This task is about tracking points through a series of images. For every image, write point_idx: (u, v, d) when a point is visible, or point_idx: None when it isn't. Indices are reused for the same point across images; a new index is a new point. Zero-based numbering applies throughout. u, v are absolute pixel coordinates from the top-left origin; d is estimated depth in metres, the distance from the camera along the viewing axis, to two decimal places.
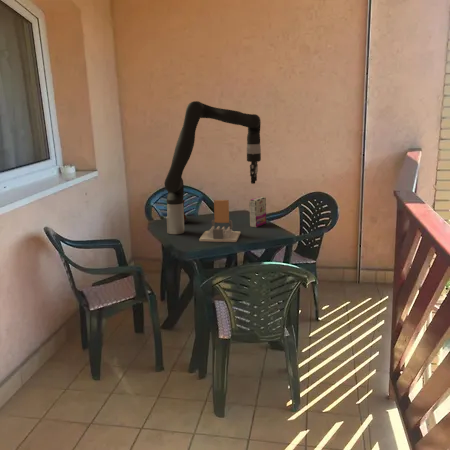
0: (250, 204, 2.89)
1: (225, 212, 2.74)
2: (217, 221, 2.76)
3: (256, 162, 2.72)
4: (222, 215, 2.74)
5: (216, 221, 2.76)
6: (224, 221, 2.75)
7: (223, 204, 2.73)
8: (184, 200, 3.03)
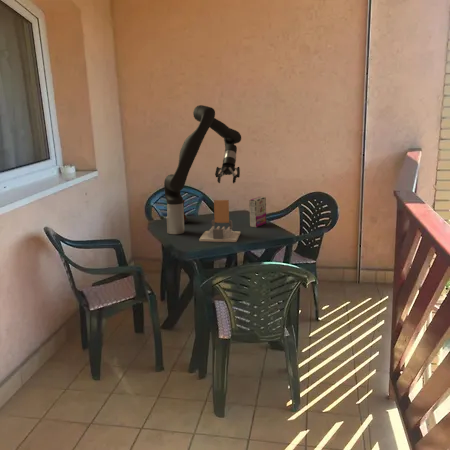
0: (250, 204, 2.89)
1: (225, 212, 2.74)
2: (217, 221, 2.76)
3: None
4: (222, 215, 2.74)
5: (216, 221, 2.76)
6: (224, 221, 2.75)
7: (223, 204, 2.73)
8: (184, 200, 3.03)
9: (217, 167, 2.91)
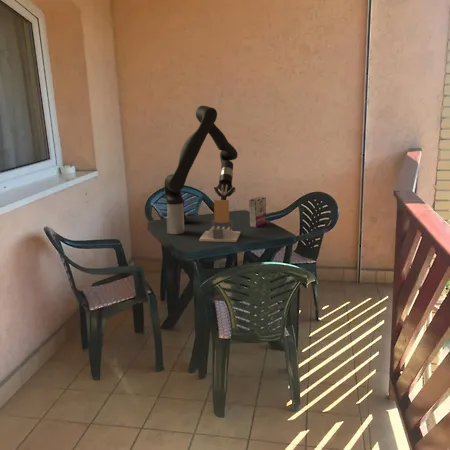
0: (250, 204, 2.89)
1: (225, 212, 2.74)
2: (217, 221, 2.76)
3: None
4: (222, 215, 2.74)
5: (216, 221, 2.76)
6: (224, 221, 2.75)
7: (223, 204, 2.73)
8: (184, 200, 3.03)
9: (214, 187, 2.84)
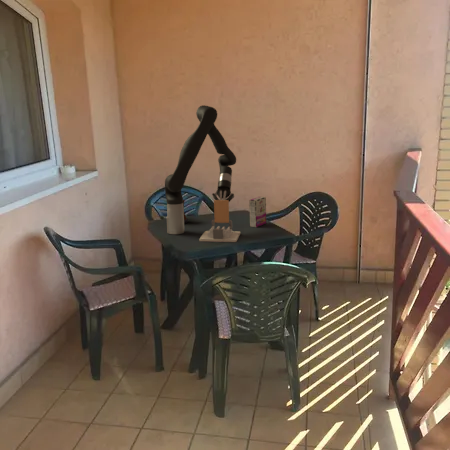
0: (250, 204, 2.89)
1: (225, 212, 2.74)
2: (217, 221, 2.76)
3: None
4: (222, 215, 2.74)
5: (216, 221, 2.76)
6: (224, 221, 2.75)
7: (223, 204, 2.73)
8: (184, 200, 3.03)
9: (213, 194, 2.79)
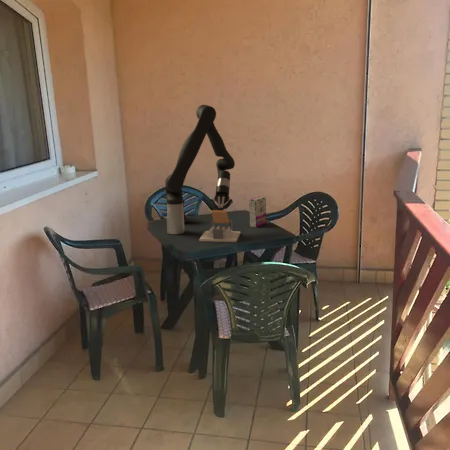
0: (250, 204, 2.89)
1: (224, 218, 2.70)
2: (217, 222, 2.76)
3: None
4: (221, 219, 2.72)
5: (216, 222, 2.76)
6: (224, 222, 2.75)
7: (221, 214, 2.67)
8: (184, 200, 3.03)
9: (211, 199, 2.74)
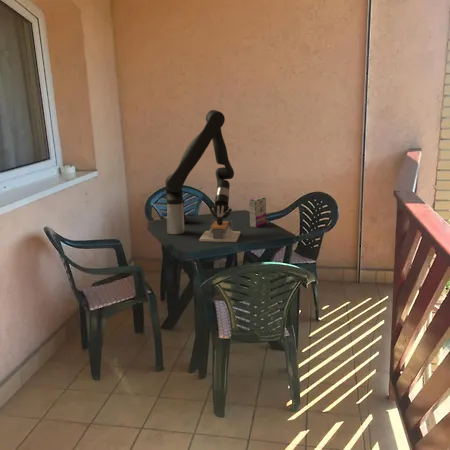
0: (250, 204, 2.89)
1: None
2: None
3: None
4: None
5: None
6: None
7: None
8: (184, 200, 3.03)
9: (210, 209, 2.71)
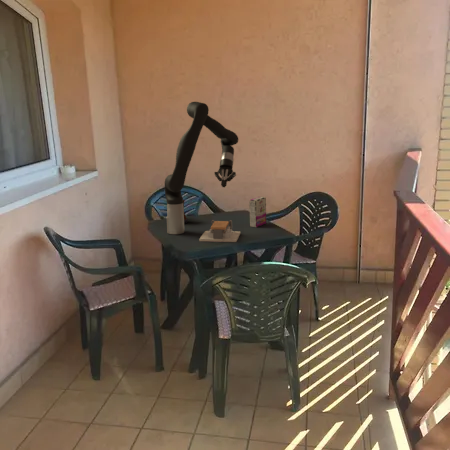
0: (250, 204, 2.89)
1: None
2: None
3: None
4: None
5: None
6: None
7: None
8: (184, 200, 3.03)
9: (215, 172, 2.83)
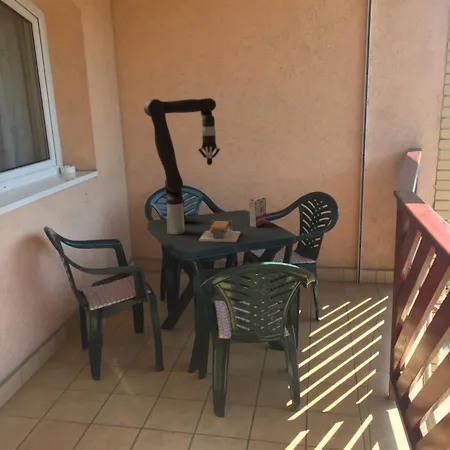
0: (250, 204, 2.89)
1: None
2: None
3: None
4: None
5: None
6: None
7: None
8: (184, 200, 3.03)
9: (199, 150, 2.83)
